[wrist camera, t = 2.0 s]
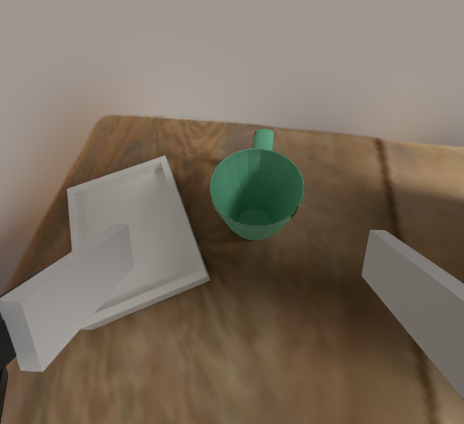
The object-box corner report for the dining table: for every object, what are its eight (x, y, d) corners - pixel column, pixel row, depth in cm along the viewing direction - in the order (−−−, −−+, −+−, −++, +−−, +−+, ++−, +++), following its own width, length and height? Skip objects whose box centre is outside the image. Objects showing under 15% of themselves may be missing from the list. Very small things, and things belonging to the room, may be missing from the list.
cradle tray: (169, 165, 39) (165, 155, 37) (210, 280, 30) (207, 276, 28) (77, 197, 37) (66, 188, 35) (91, 330, 28) (78, 329, 26)
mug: (287, 263, 31) (303, 233, 22) (212, 253, 32) (199, 221, 23) (292, 171, 37) (306, 120, 28) (230, 165, 38) (225, 114, 30)
